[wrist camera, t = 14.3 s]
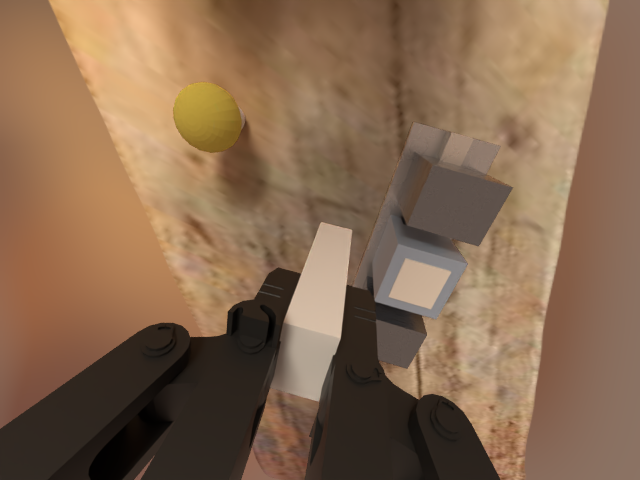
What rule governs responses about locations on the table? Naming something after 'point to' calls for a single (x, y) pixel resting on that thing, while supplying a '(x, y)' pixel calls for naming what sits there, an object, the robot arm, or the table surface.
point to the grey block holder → (431, 216)
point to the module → (415, 269)
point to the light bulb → (208, 117)
